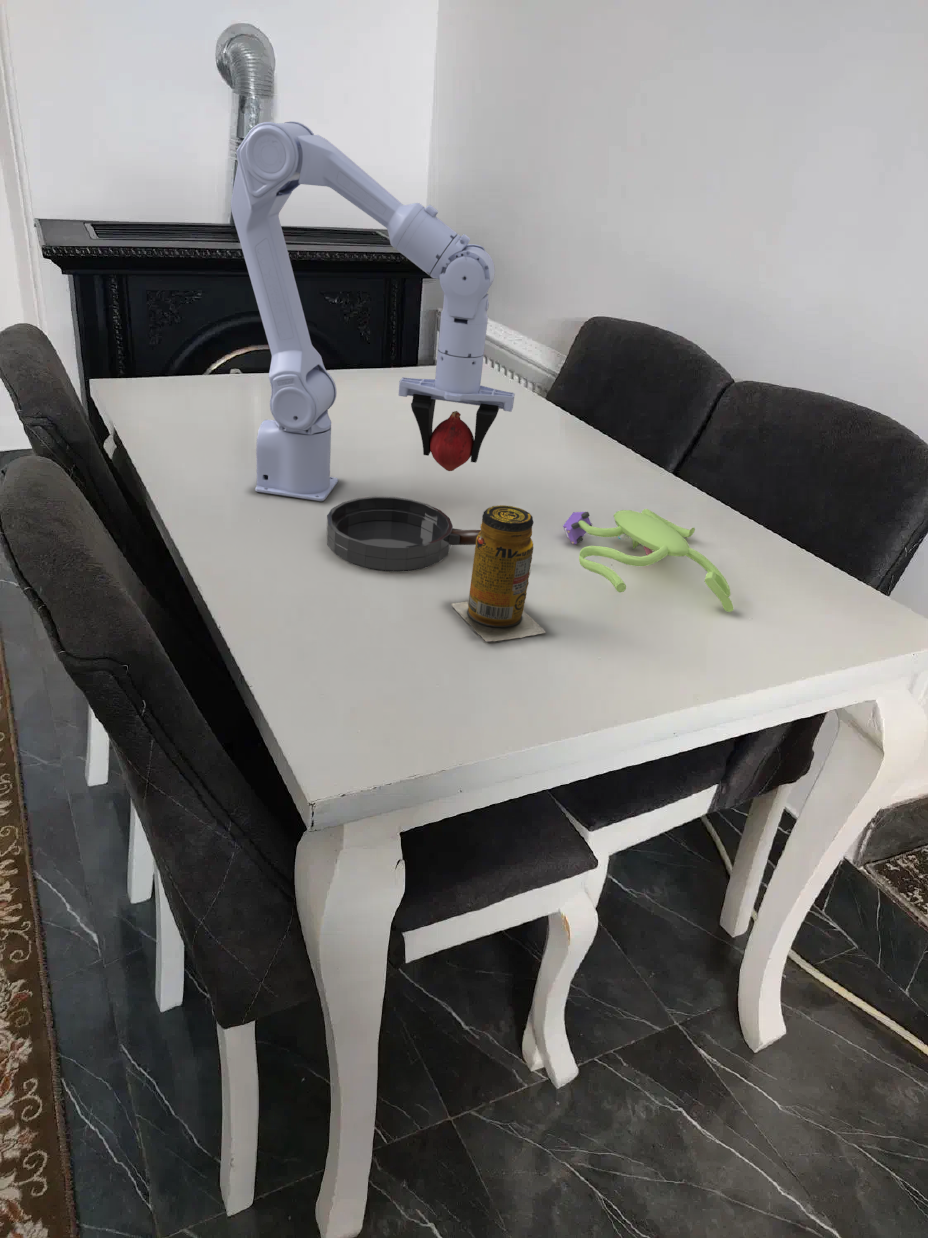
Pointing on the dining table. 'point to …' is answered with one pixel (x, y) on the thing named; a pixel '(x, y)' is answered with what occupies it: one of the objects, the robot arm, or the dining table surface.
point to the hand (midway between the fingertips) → (450, 456)
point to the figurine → (651, 536)
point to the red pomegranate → (451, 442)
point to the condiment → (501, 576)
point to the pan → (388, 533)
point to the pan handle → (463, 537)
